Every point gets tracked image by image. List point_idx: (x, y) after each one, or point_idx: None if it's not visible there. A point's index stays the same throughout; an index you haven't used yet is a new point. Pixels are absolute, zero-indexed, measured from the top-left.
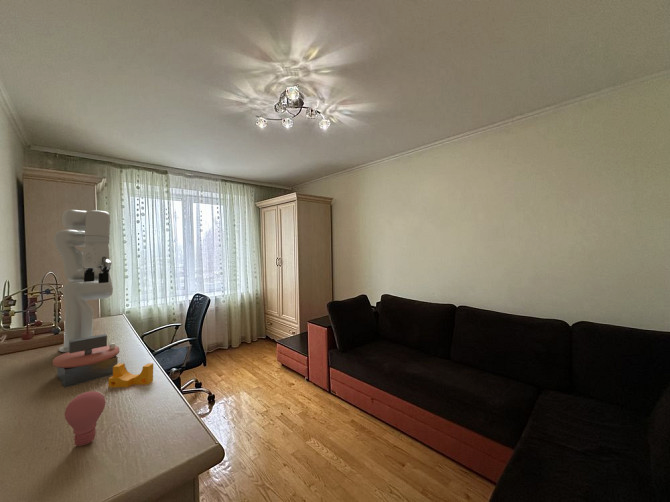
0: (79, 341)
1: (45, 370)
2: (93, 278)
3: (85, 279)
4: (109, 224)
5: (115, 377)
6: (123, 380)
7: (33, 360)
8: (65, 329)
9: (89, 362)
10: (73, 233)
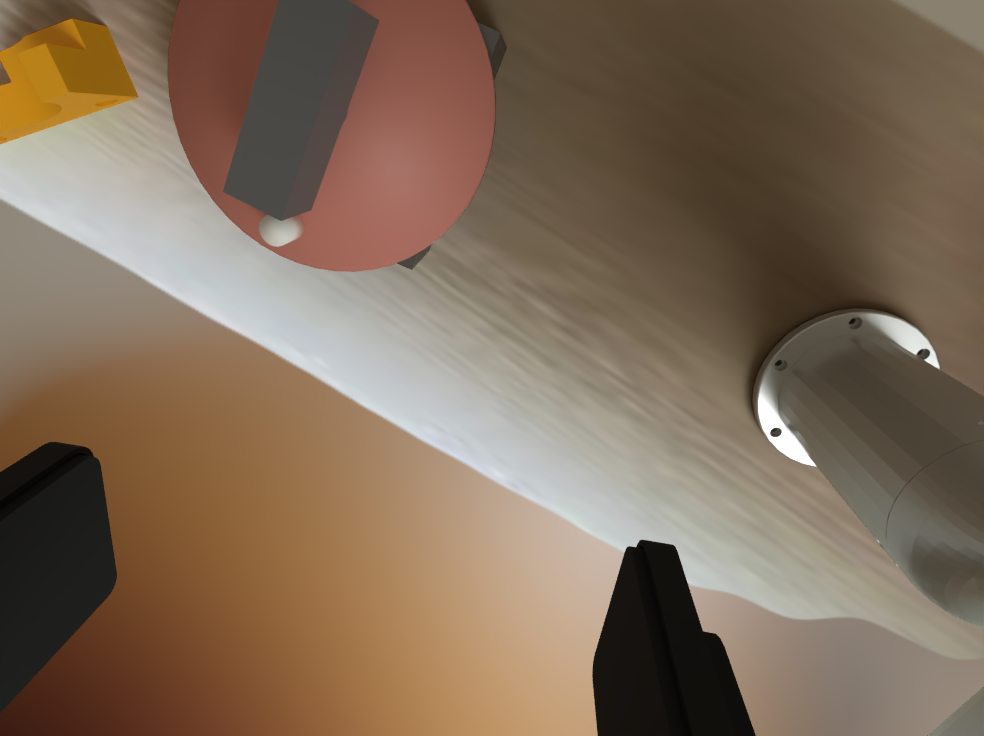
0: (275, 29)
1: (656, 81)
2: (598, 709)
3: (637, 577)
4: None
5: (51, 37)
6: (15, 45)
7: (902, 169)
8: (958, 385)
9: (181, 11)
10: None
